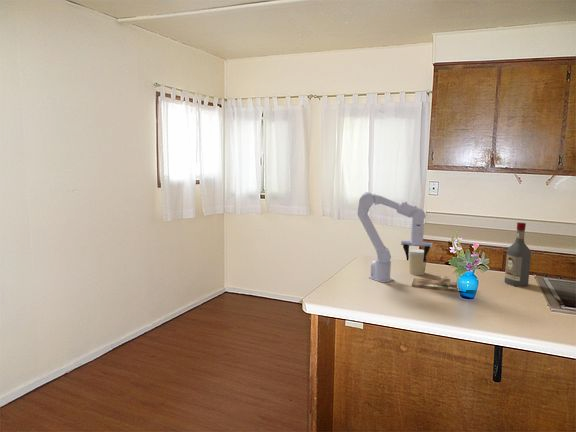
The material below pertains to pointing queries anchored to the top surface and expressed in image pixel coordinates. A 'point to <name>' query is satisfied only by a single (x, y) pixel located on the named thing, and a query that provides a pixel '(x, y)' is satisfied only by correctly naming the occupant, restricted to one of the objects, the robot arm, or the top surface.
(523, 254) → the liquor
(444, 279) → the gauge slider
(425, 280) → the gauge base
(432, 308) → the top surface
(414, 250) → the coffee cup
